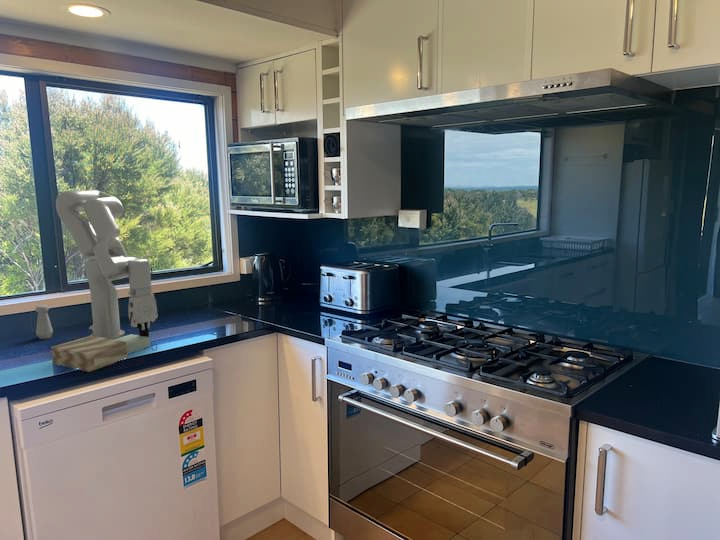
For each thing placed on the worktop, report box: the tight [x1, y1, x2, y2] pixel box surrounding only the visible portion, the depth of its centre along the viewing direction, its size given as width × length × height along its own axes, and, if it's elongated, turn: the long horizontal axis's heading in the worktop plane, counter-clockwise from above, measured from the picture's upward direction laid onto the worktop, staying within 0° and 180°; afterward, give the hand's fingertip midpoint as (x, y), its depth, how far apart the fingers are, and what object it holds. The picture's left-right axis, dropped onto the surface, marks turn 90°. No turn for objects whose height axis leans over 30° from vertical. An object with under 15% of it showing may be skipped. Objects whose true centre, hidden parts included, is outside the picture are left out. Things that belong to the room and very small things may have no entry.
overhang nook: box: [51, 335, 128, 373], centre depth 183 cm, size 18×15×6 cm
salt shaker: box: [35, 304, 54, 340], centre depth 211 cm, size 6×6×13 cm
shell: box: [113, 333, 151, 355], centre depth 196 cm, size 10×13×4 cm
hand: (144, 339), depth 203 cm, fingers closed
